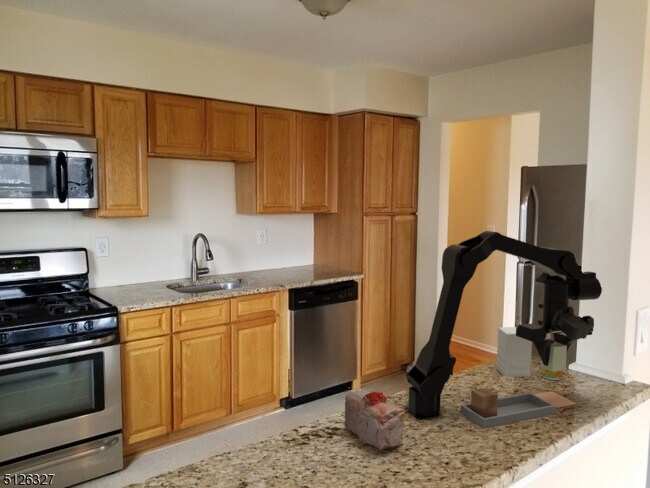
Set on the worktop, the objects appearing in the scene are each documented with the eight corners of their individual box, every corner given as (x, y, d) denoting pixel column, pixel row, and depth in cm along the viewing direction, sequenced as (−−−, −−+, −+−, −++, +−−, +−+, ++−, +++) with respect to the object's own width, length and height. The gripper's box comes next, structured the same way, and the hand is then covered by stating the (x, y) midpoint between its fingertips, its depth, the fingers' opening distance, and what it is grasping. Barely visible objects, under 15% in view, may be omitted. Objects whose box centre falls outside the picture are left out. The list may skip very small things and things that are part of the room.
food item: (410, 446, 102) (411, 399, 101) (380, 458, 97) (381, 409, 96) (366, 421, 113) (367, 379, 112) (338, 431, 108) (338, 387, 107)
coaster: (551, 411, 118) (551, 408, 118) (526, 398, 125) (526, 395, 125) (577, 405, 121) (577, 403, 121) (551, 393, 128) (551, 391, 128)
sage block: (552, 372, 120) (553, 347, 119) (540, 366, 123) (541, 342, 123) (565, 369, 121) (566, 345, 120) (552, 364, 125) (553, 341, 124)
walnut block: (482, 423, 110) (483, 396, 110) (470, 415, 114) (471, 390, 114) (497, 420, 112) (497, 394, 111) (485, 413, 116) (486, 387, 115)
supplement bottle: (542, 379, 138) (543, 345, 137) (539, 372, 143) (541, 339, 142) (563, 381, 136) (565, 346, 135) (560, 374, 142) (562, 341, 141)
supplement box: (531, 378, 139) (533, 333, 138) (504, 378, 139) (506, 333, 138) (521, 369, 146) (523, 326, 145) (495, 369, 146) (497, 326, 145)
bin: (483, 431, 108) (483, 419, 108) (460, 415, 116) (460, 404, 115) (555, 416, 115) (556, 405, 115) (529, 402, 123) (530, 392, 123)
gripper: (551, 311, 110) (548, 380, 111) (614, 305, 116) (610, 370, 118) (515, 301, 120) (512, 364, 122) (574, 296, 127) (571, 356, 128)
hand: (552, 364), depth 122 cm, fingers closed on sage block, 4 cm apart
